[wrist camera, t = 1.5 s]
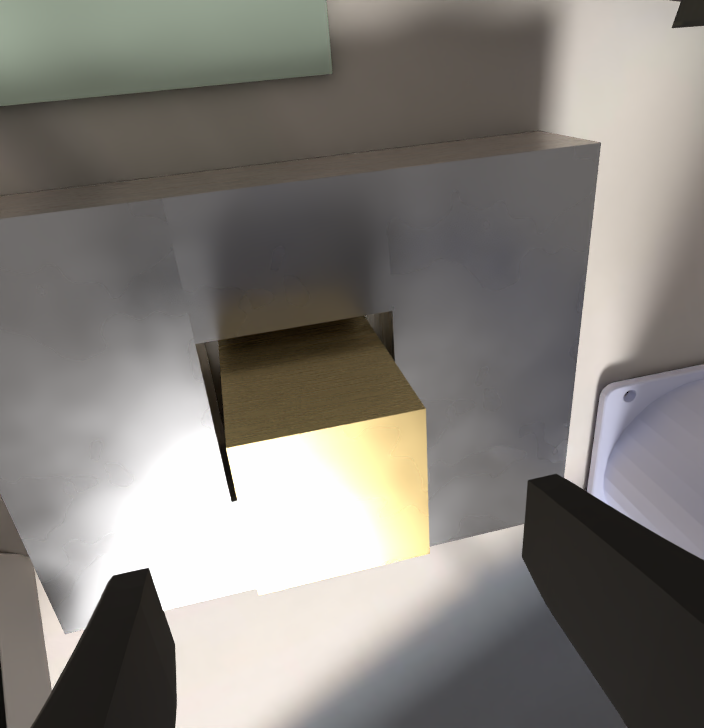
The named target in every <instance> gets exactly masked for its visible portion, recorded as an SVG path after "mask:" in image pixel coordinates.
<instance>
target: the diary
mask: <svg viewBox="0 0 704 728" xmlns="http://www.w3.org/2000/svg"><path fill="white" fill-rule="evenodd" d="M672 1H680V2H681V3H680V6H679V9H678V12H677V15H676V17H675V20H674V23H673V26H672V28H680V27H694V26H704V0H672Z"/></svg>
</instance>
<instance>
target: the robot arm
mask: <svg viewBox="0 0 704 728" xmlns="http://www.w3.org/2000/svg"><path fill="white" fill-rule="evenodd" d="M627 391H629V392H628V394H627V395H626V396H624V395H625V393H626V392H627ZM522 558H523V560H524V562H525V564H526V566H527V568H528V570H529V572H530V574H531V576H532V578H533V580H534V582H535V584H536V586H537V588H538V590H539V592H540V594H541V596H542V597H543V599H544V601H545V603H546V605H547V606H548V608H549V610H550V611H551V613H552V614H553V616H554V617H555V619H556V620H557V622H558V623H559V625H560V626H561V628H562V629H563V631H564V632H565V634H566V635H567V637H568V638H569V640H570V641H571V643H572V644H573V646H574V647H575V649H576V650H577V652H578V653H579V655H580V656H581V658H582V659H583V661H584V662H585V664H586V665H587V667H588V668H589V670H590V671H591V673H592V674H593V676H594V677H595V679H596V680H597V681H598V683H599V684H600V686H601V687H602V689H603V690H604V692H605V693H606V695H607V696H608V698H609V699H610V701H611V702H612V704H613V705H614V707H615V708H616V710H617V711H618V713H619V714H620V716H621V718H622V719H623V721H624V722H625V724H626V726H627V727H628V728H704V364H702V365H697V366H692V367H687V368H682V369H677V370H672V371H667V372H662V373H658V374H653V375H648V376H643V377H638V378H633V379H628V380H623V381H618V382H613V383H611V384H608V385H607V386H606V387H605V388H604V389H603V390H602V392H601V394H600V398H599V406H598V413H597V420H596V428H595V435H594V442H593V450H592V457H591V464H590V472H589V479H588V487H587V492H586V491H585V490H583V489H582V488H580V487H578V486H577V485H575V484H573V483H572V482H570V481H568V480H567V479H565V478H563V477H561V476H560V475H558V474H552V475H548V476H544V477H539V478H535V479H530V480H528V483H527V497H526V510H525V523H524V536H523V549H522ZM176 708H177V693H176V660H175V643H174V640H173V637H172V634H171V631H170V628H169V625H168V622H167V620H166V617H165V614H164V611H163V608H162V605H161V602H160V599H159V596H158V593H157V590H156V587H155V584H154V581H153V578H152V575H151V572H150V569H149V567H148V568H143V569H139V570H135V571H130V572H126V573H122V574H117V575H113V576H112V577H111V579H110V580H109V581H108V583H107V585H106V587H105V589H104V591H103V593H102V595H101V598H100V600H99V602H98V604H97V606H96V608H95V610H94V612H93V614H92V616H91V618H90V620H89V622H88V624H87V626H86V628H85V630H84V632H83V634H82V636H81V638H80V640H79V642H78V644H77V646H76V648H75V650H74V651H73V653H72V655H71V657H70V659H69V661H68V662H67V664H66V666H65V668H64V670H63V672H62V673H61V675H60V677H59V679H58V681H57V683H56V684H55V686H54V688H53V690H52V692H51V693H50V695H49V697H48V699H47V701H46V702H45V704H44V706H43V707H42V709H41V711H40V713H39V714H38V716H37V717H36V719H35V721H34V722H33V724H32V726H31V727H30V728H175V722H176Z"/></svg>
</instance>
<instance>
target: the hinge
mask: <svg viewBox="0 0 704 728" xmlns="http://www.w3.org/2000/svg"><path fill="white" fill-rule="evenodd" d="M51 692H52V689H51V682H50V676H49V669H48V662H47V655H46V648H45V641H44V634H43V627H42V620H41V613H40V606H39V600H38V593H37V586H36V579H35V572H34V566H33V564H32V562H31V559H30V557H27V556H24V555H20V554H4V553H0V728H30V727H31V726H32V724H33V722H34V721H35V719H36V717H37V716H38V714H39V713H40V711H41V709H42V707H43V706H44V704H45V702H46V701H47V699H48V697H49V695H50V693H51Z"/></svg>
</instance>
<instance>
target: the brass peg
mask: <svg viewBox="0 0 704 728" xmlns="http://www.w3.org/2000/svg"><path fill="white" fill-rule="evenodd" d="M218 345H219V358H220V371H221V385H222V398H223V411H224V424H225V438H226V449H227V454H228V458H229V463H230V467H231V472H232V476H233V481H234V485H235V490H236V494H237V499H238V503H239V508H240V512H241V517H242V521H243V526H244V531H245V535H246V540H247V544H248V549H249V553H250V558H251V562H252V567H253V571H254V576H255V580H256V585H257V589H258V594H259V595H260V594H264V593H269V592H273V591H277V590H281V589H285V588H289V587H293V586H298V585H302V584H306V583H310V582H314V581H318V580H322V579H327V578H331V577H335V576H339V575H343V574H347V573H351V572H355V571H360V570H364V569H368V568H372V567H376V566H380V565H384V564H389V563H393V562H397V561H401V560H405V559H409V558H413V557H418V556H422V555H426V554H430V548H429V509H428V471H427V432H426V408H425V407H424V405H423V404H422V402H421V401H420V399H419V398H418V396H417V395H416V393H415V392H414V390H413V389H412V387H411V386H410V384H409V383H408V381H407V380H406V378H405V376H404V375H403V373H402V372H401V370H400V369H399V367H398V366H397V364H396V363H395V361H394V360H393V358H392V357H391V355H390V354H389V352H388V351H387V349H386V348H385V346H384V345H383V343H382V342H381V340H380V339H379V337H378V336H377V334H376V333H375V331H374V330H373V328H372V327H371V325H370V324H369V322H368V321H367V319H366V318H365V316H359V317H353V318H347V319H341V320H335V321H329V322H323V323H317V324H311V325H305V326H299V327H294V328H288V329H282V330H276V331H270V332H264V333H258V334H252V335H246V336H240V337H234V338H228V339H222V340H218Z"/></svg>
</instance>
